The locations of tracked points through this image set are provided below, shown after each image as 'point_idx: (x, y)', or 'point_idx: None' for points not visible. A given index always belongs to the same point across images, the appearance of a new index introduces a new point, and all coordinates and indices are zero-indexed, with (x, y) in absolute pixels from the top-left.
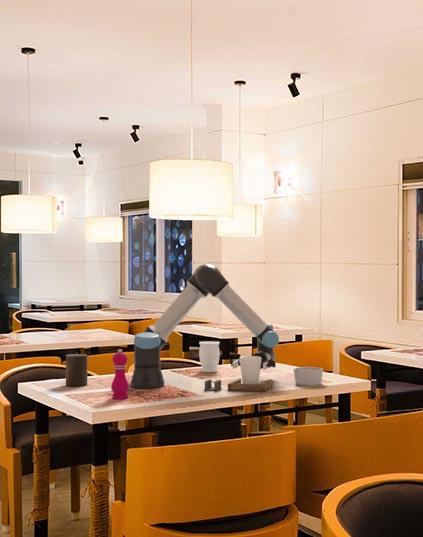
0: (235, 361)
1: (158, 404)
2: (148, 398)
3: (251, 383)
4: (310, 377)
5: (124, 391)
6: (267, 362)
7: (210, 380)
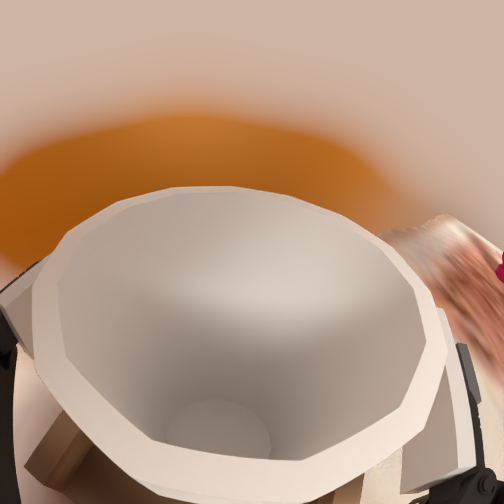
0: (450, 366)
1: (424, 231)
2: (476, 274)
3: (218, 381)
4: None
5: (502, 259)
6: (23, 282)
7: (466, 387)
